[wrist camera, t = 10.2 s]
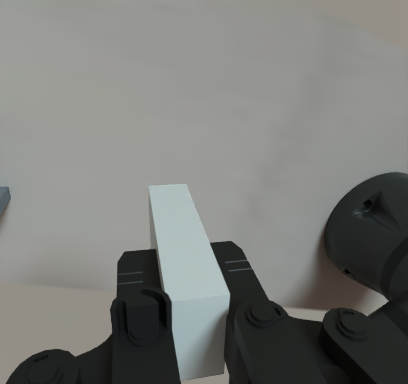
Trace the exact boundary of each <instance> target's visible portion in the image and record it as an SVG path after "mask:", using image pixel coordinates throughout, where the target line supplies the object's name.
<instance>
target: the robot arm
mask: <svg viewBox="0 0 408 384" xmlns="http://www.w3.org/2000/svg"><path fill="white" fill-rule="evenodd" d="M148 190H149V215H150V240H151V249H149V250H138V251H127V252H124V253H123V255H122V256H121V258H120V259H119V261H118V266H117V297H116V298H115V299H114V300H113V302H112V305H111V309H110V312H111V322H112V334H111V335H110V336H109V338H108V339H107V340H106V341H105V342H103V343H102V344H101V345H99V346H98V347H96V348H94V349H92V350H90V351H88V352H86V353H83V354H81V355H79V356H76V357H75V356H73V355H72V354H71V353H70V352H69V351H64V350H60V349H53V350H45V351H42V352H40V353H37V354H35V355H32V356H31V357H29V358H28V359H26V360H25V361H24V362H22V363H21V364H20V365H19V366H18V367H17V368H16V369H15V371H14V372H13V373H12V374H11V376H10V377H9V379H8V381H7V382H6V384H181V381H184V380H190V379H196V378H202V377H208V376H214V375H220V374H224V365H225V363H226V365H227V369H228V372H229V384H408V174H405V173H398V172H393V173H386V174H381V175H378V176H375V177H373V178H370V179H368V180H366V181H365V182H363V183H361V184H360V185H358V186H357V187H355V188H354V189H353V190H352V191H350V192H349V193H348V194H347V195H346V196H345V197H344V198H343V199H342V201H341V202H340V203H339V204H338V206H337V207H336V209H335V210H334V212H333V213H332V215H331V217H330V219H329V222H328V225H327V228H326V233H325V248H326V252H327V254H328V256H329V258H330V259H331V261H332V262H333V263H334V264H335V265H336V266H337V268H338V269H339V270H340V271H341V272H342V273H343V274H345V275H346V276H348V277H349V278H351V279H353V280H355V281H357V282H359V283H361V284H363V285H364V286H366V287H368V288H370V289H372V290H374V291H376V292H378V293H380V294H382V295H383V296H384V297H385V298H386V299H387V300H388V301H389V302H387V303H386V304H385V305H383V306H382V307H380V308H378V309H377V310H376V311H374V312H373V313H371V314H370V315H368V316H366V315H364V314H363V313H360V312H358V311H355V310H352V309H347V308H336V309H331V310H330V311H328V312H327V313H326V314H325V316H324V319H323V322H319V321H311V320H303V319H298V318H293V317H290V316H289V315H288V314H287V312H286V311H285V310H284V309H283V308H282V307H281V306H280V305H278V304H276V303H275V302H273V301H270V300H269V299H268V297H267V295H266V294H265V292H264V290H263V288H262V286H261V284H260V282H259V281H258V279H257V277H256V275H255V273H254V271H253V269H251V266H250V264H249V262H248V261H247V258H246V256H245V254H244V253H243V251H242V249H241V248H240V247H238V246H237V245H236V244H234V243H233V242H232V241H225V242H214V243H209V240H208V238H207V235H206V233H205V230H204V228H203V225H202V223H201V220H200V218H199V215H198V213H197V210H196V208H195V205H194V203H193V200H192V198H191V195H190V193H189V190H188V188H187V185H186V184H175V185H156V186H148Z"/></svg>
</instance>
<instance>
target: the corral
mask: <svg viewBox="0 0 408 384" xmlns="http://www.w3.org/2000/svg"><path fill="white" fill-rule="evenodd" d="M10 198H11V197H10V192H9V187H0V215H1V213H2V211H3V210H4V208H5V207H6V205H7V203H8V202H9V200H10Z"/></svg>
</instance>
